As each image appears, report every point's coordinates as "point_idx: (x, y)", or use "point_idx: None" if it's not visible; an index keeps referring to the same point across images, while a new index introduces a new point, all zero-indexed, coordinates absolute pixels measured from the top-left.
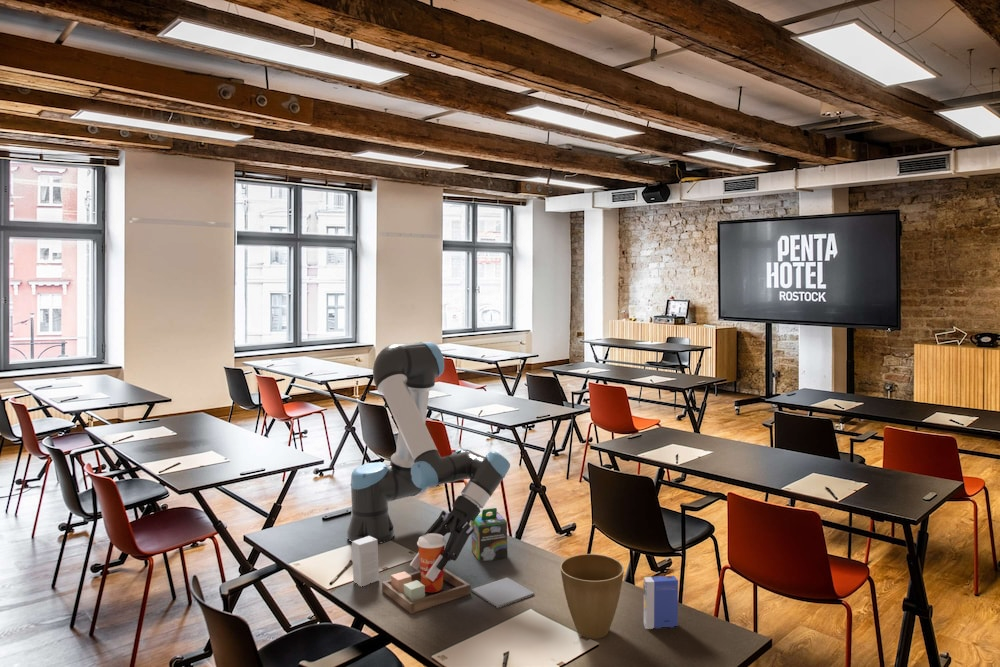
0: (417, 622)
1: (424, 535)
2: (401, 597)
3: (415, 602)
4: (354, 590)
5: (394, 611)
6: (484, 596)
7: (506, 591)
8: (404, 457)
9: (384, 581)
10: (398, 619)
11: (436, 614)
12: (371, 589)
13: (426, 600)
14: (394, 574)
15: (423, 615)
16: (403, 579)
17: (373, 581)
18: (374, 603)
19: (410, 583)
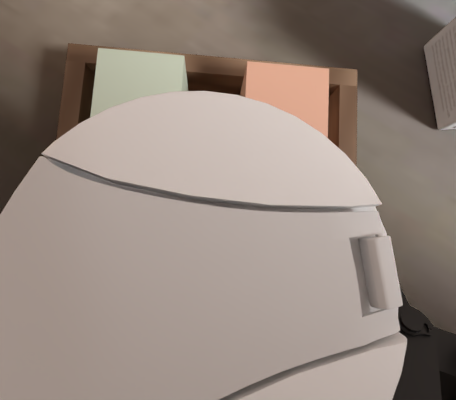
0: (7, 47)
1: (376, 276)
2: (162, 53)
3: (66, 66)
4: (413, 14)
5: (150, 32)
6: None
7: None
8: None
9: (356, 81)
10: (83, 9)
11: (4, 140)
12: (380, 66)
13: (60, 125)
14: (325, 86)
15: (37, 96)
16: (244, 94)
17: (435, 100)
18: (263, 12)
19: (167, 87)
